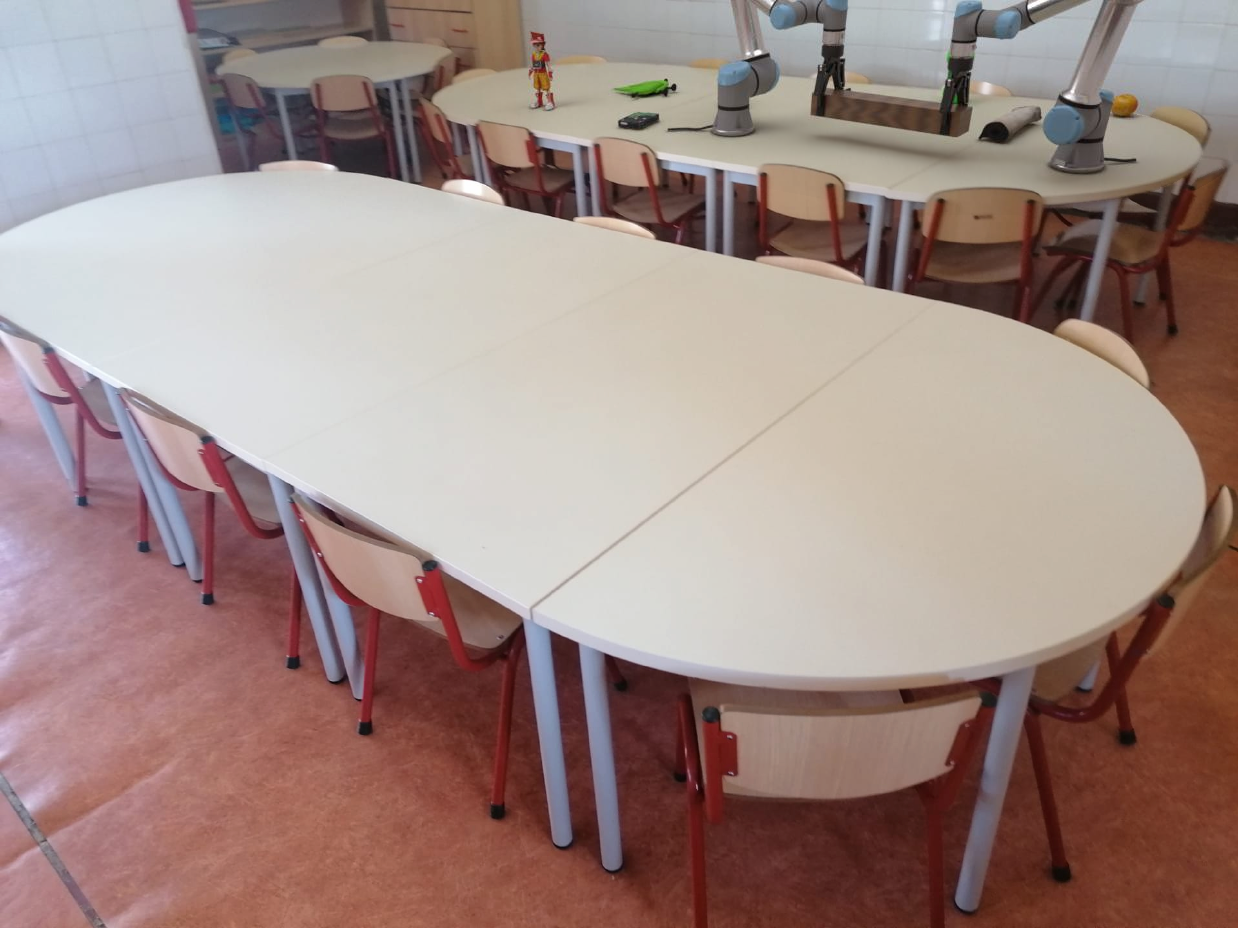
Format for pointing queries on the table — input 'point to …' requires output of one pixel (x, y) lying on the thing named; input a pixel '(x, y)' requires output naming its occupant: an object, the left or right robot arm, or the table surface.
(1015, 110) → the rolled mat
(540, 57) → the toy
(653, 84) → the toy
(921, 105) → the thick board
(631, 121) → the disk drive
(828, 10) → the left robot arm
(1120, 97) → the fruit
